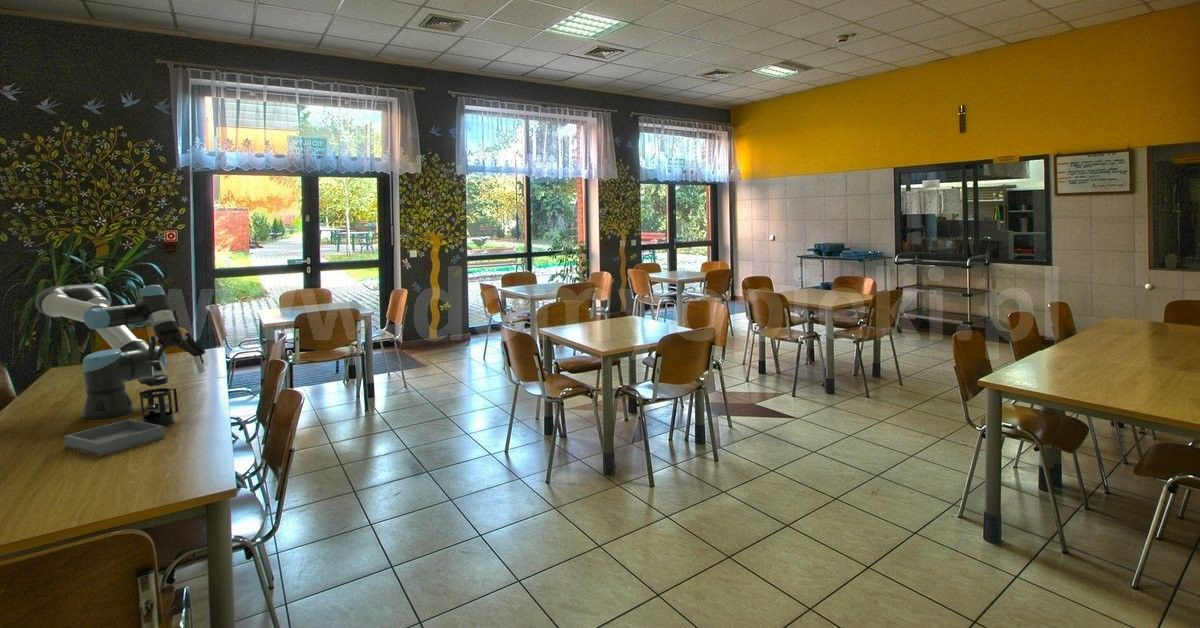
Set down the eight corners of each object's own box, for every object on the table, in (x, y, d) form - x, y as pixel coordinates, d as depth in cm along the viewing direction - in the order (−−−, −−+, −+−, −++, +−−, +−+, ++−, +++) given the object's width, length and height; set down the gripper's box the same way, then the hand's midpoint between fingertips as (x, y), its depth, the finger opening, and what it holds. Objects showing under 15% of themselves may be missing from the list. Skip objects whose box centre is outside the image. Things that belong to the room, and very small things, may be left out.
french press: (147, 430, 217) (139, 365, 214) (135, 426, 222) (127, 362, 219) (184, 421, 227) (178, 358, 224) (172, 417, 232) (165, 356, 229)
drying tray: (66, 447, 200) (64, 435, 200) (131, 430, 217) (130, 419, 217) (99, 456, 192) (98, 444, 192) (165, 437, 209) (163, 426, 209)
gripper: (132, 323, 225) (153, 377, 223) (202, 317, 248) (221, 366, 245) (122, 332, 228) (142, 385, 226) (192, 325, 251) (211, 373, 248)
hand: (184, 375), depth 235 cm, fingers open, 13 cm apart
